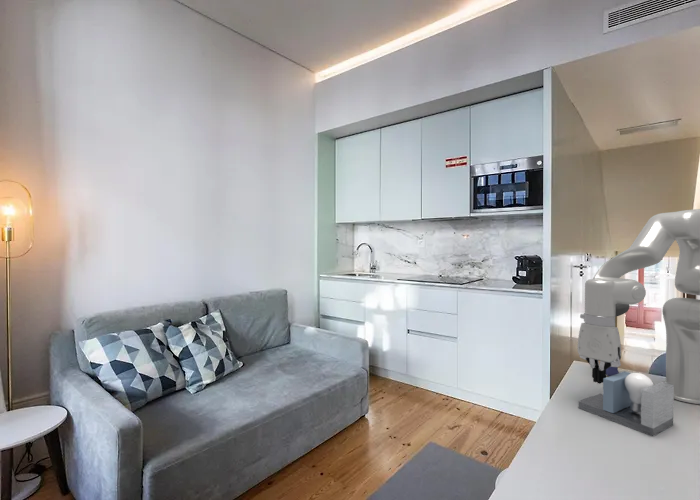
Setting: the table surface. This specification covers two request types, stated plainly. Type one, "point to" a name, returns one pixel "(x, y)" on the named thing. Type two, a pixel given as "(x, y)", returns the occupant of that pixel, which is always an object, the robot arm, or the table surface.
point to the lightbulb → (636, 389)
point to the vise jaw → (615, 393)
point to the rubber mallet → (619, 311)
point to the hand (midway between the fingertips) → (598, 381)
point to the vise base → (620, 415)
